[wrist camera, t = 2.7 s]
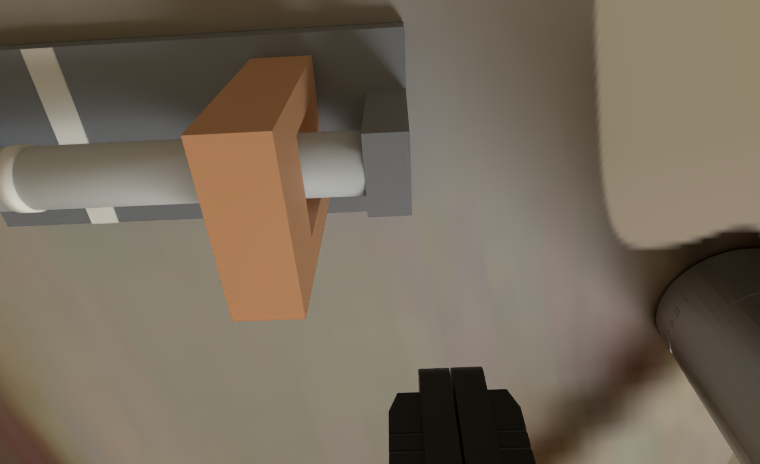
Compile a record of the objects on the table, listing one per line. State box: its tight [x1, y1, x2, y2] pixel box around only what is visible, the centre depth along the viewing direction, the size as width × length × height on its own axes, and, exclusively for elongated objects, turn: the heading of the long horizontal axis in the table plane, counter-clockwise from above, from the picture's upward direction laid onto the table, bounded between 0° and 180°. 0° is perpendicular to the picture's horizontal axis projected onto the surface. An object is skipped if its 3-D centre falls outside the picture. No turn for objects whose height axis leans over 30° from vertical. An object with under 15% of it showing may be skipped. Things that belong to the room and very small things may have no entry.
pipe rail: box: [0, 22, 412, 227], centre depth 26 cm, size 24×10×7 cm, turn 93°
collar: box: [181, 55, 330, 322], centre depth 23 cm, size 3×8×10 cm, turn 3°
